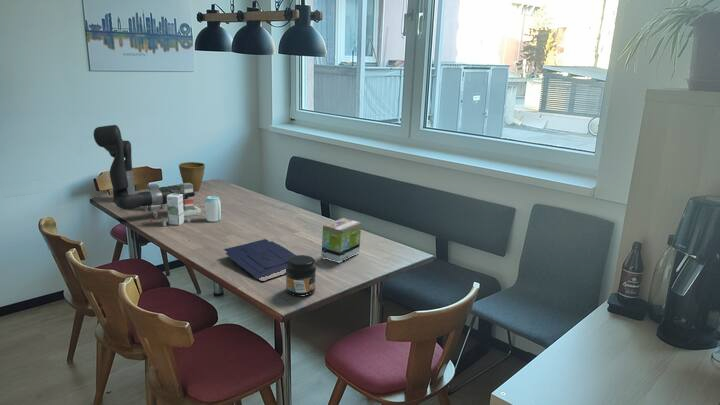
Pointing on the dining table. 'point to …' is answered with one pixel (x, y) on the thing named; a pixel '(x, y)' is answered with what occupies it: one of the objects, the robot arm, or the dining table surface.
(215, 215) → the can
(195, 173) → the plant pot
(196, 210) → the tray
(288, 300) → the dining table surface
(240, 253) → the dark blue book
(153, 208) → the block
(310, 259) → the supplement container
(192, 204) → the marked fuse
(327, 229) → the tea box
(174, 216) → the syrup box
